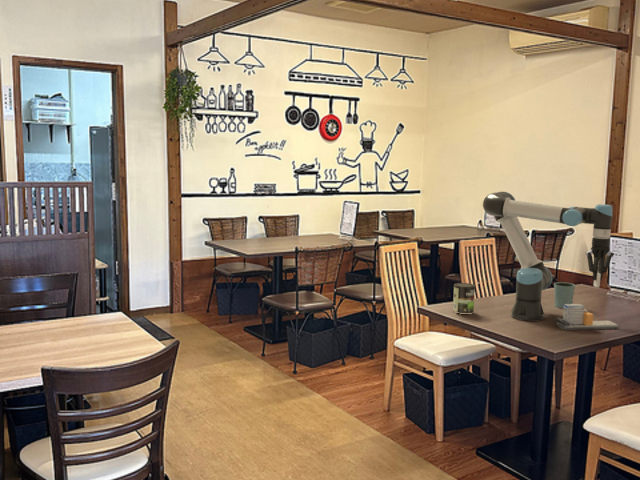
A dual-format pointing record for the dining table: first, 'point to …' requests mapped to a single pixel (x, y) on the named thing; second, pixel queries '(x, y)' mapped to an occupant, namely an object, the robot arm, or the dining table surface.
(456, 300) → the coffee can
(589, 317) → the rail end clamp
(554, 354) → the dining table surface
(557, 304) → the green cup
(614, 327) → the grey shallow tray
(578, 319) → the medicine box
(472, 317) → the dining table surface
